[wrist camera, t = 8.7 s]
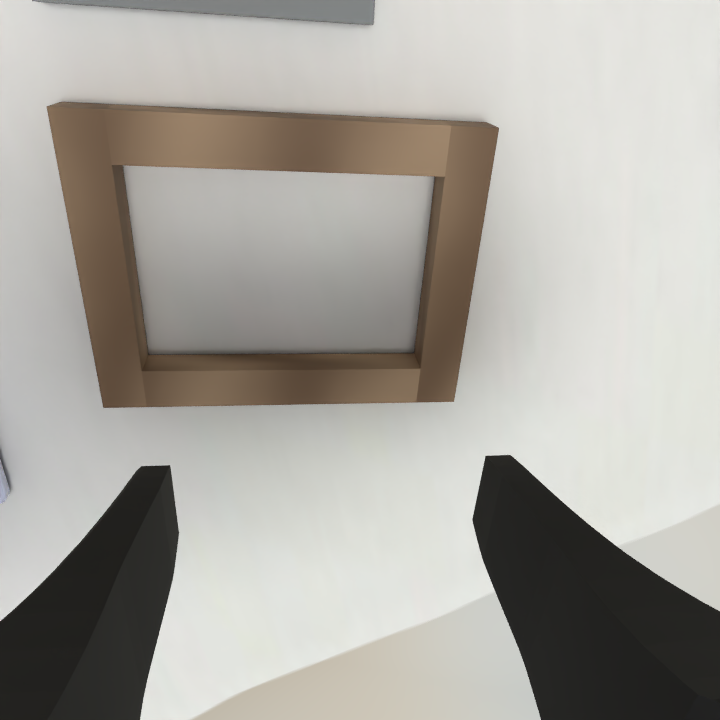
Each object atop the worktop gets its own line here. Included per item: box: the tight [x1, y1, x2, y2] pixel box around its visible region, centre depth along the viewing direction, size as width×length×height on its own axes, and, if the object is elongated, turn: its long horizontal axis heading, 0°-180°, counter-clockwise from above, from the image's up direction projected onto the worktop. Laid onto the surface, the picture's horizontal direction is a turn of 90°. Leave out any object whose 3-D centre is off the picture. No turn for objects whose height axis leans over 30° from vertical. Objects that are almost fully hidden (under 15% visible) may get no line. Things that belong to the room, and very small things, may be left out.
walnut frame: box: [47, 102, 499, 408], centre depth 20 cm, size 13×10×1 cm
